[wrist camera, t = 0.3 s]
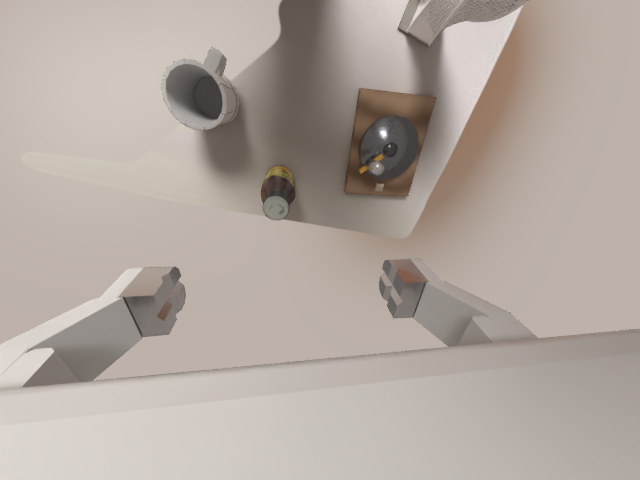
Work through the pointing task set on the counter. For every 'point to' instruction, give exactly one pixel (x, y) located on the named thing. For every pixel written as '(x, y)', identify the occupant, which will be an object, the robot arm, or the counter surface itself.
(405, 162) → the dial
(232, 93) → the cup
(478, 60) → the counter surface
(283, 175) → the sauce bottle
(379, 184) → the stand
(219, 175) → the counter surface
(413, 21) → the skyscraper
